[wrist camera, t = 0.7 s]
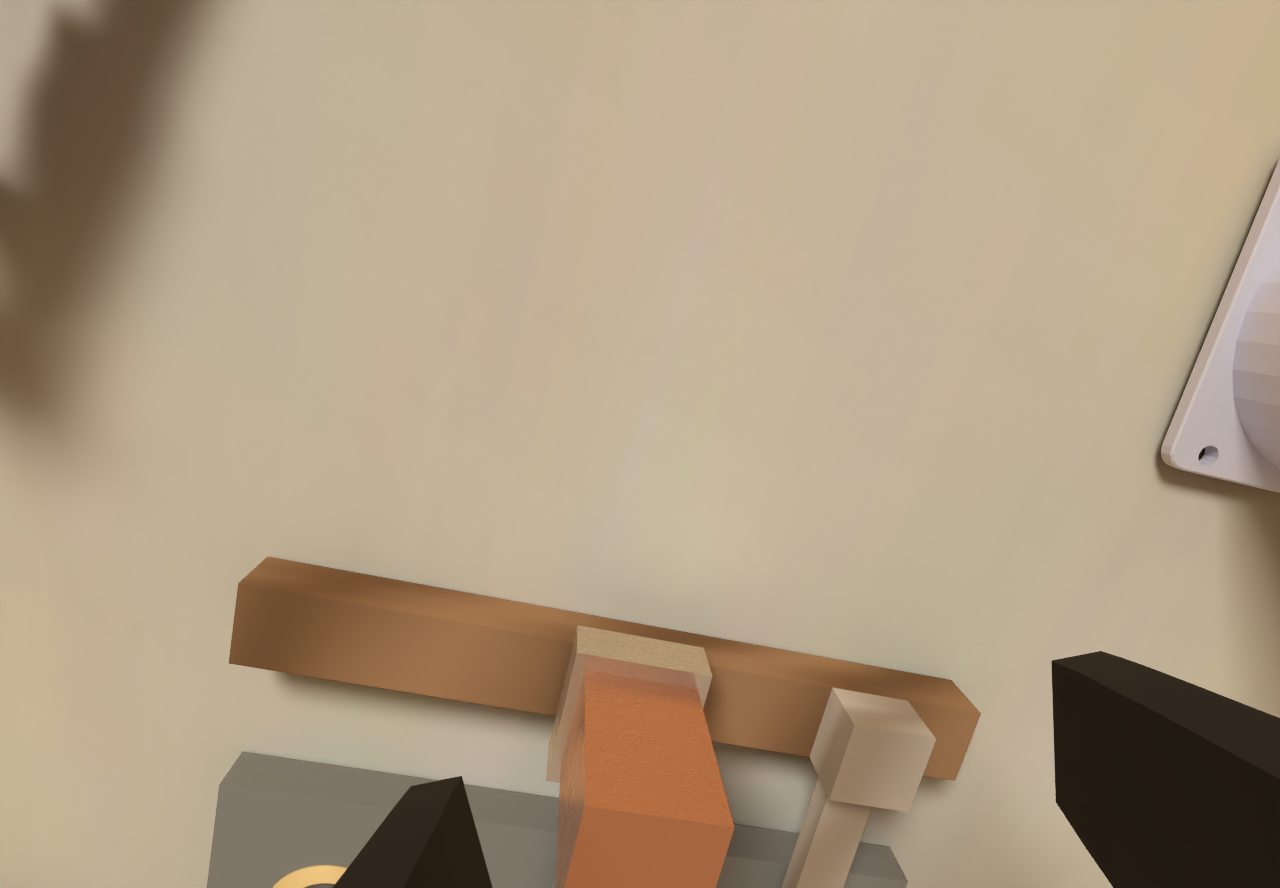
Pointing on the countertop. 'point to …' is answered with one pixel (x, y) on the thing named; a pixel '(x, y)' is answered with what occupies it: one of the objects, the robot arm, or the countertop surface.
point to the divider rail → (543, 637)
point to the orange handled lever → (636, 767)
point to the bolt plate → (505, 821)
